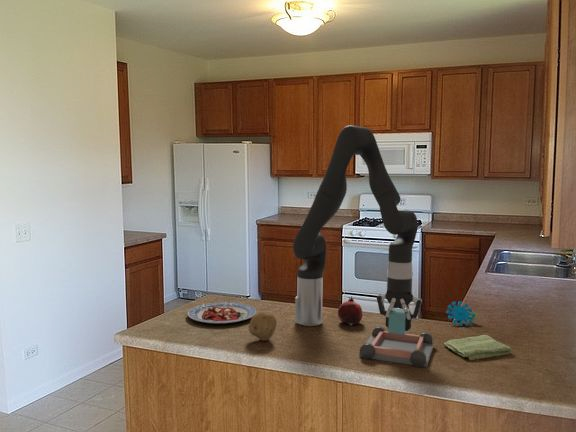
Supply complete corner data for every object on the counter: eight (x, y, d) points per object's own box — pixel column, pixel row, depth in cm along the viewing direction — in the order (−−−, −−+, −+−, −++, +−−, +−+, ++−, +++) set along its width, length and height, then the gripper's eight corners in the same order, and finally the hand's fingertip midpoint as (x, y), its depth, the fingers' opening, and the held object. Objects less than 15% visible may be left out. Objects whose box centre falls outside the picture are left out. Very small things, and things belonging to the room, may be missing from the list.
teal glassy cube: (388, 332, 159) (388, 313, 159) (391, 326, 165) (392, 308, 164) (404, 334, 157) (405, 315, 157) (407, 328, 163) (408, 310, 162)
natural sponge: (251, 346, 166) (251, 316, 165) (246, 337, 174) (246, 308, 173) (279, 344, 168) (279, 314, 167) (272, 335, 177) (272, 306, 176)
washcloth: (440, 347, 168) (441, 337, 167) (487, 342, 173) (487, 332, 172) (465, 362, 155) (466, 352, 155) (514, 356, 160) (515, 346, 160)
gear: (447, 322, 187) (447, 297, 193) (443, 329, 192) (443, 305, 198) (478, 327, 186) (477, 303, 192) (473, 334, 191) (472, 310, 197)
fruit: (350, 329, 184) (351, 301, 182) (332, 322, 191) (332, 296, 190) (368, 324, 189) (368, 297, 188) (349, 317, 197) (349, 292, 195)
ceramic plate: (175, 324, 188) (175, 316, 188) (204, 305, 213) (204, 298, 212) (243, 331, 182) (243, 322, 181) (264, 310, 206) (264, 302, 206)
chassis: (358, 358, 157) (358, 344, 156) (372, 338, 174) (372, 325, 174) (426, 368, 150) (426, 353, 149) (433, 346, 167) (434, 333, 167)
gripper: (373, 276, 159) (372, 330, 160) (422, 280, 153) (420, 336, 155) (379, 271, 165) (377, 323, 167) (425, 275, 160) (423, 328, 162)
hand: (398, 329), depth 161 cm, fingers closed on teal glassy cube, 5 cm apart
